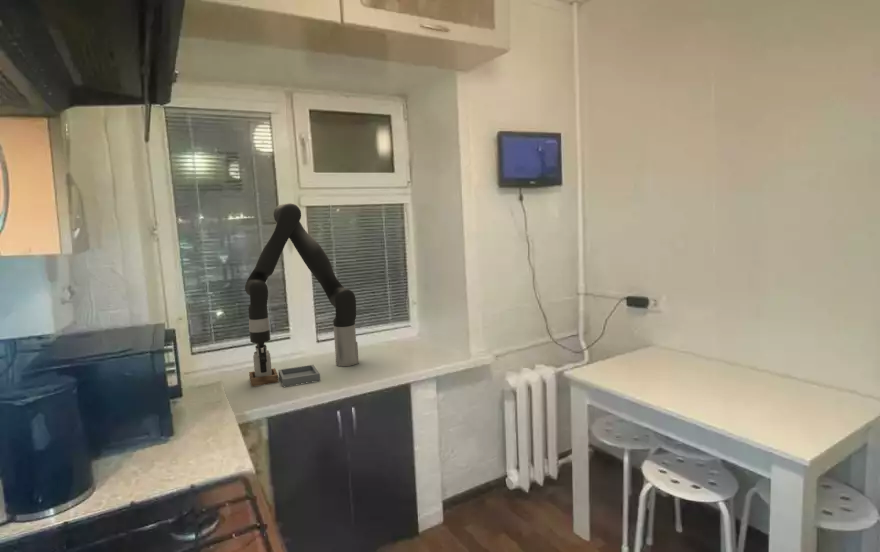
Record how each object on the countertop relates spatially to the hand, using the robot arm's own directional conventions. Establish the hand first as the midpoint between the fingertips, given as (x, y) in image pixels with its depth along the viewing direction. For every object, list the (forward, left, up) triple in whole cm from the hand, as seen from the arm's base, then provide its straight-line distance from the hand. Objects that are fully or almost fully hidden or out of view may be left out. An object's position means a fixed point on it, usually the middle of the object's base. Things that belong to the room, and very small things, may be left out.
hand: (262, 369), depth 204 cm
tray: (-13, +5, -5) cm, 15 cm away
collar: (0, 0, -5) cm, 5 cm away
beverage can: (0, 0, -5) cm, 5 cm away
